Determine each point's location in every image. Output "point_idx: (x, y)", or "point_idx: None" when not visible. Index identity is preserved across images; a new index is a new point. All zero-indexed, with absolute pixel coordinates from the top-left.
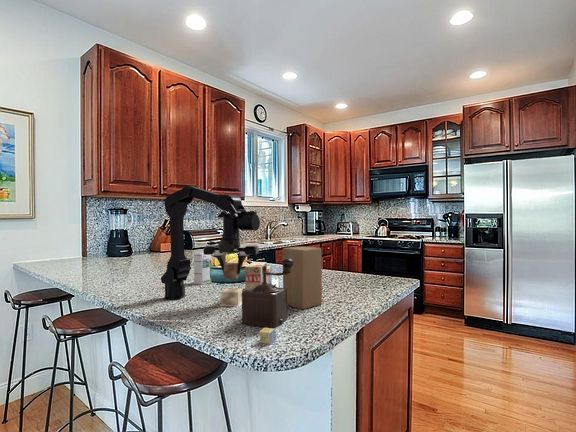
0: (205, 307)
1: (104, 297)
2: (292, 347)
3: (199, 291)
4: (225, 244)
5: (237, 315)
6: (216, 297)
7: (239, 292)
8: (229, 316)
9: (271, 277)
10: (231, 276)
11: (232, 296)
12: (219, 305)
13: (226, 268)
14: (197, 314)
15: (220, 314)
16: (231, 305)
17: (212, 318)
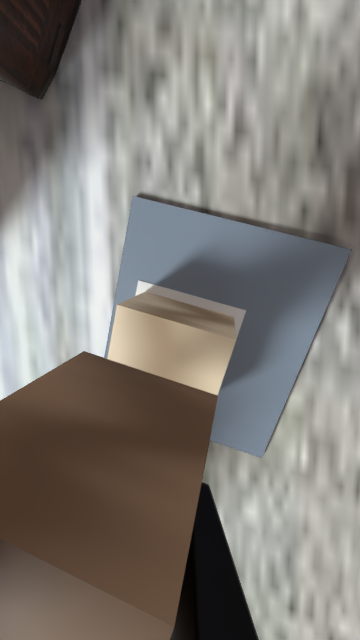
0: (323, 318)
1: None
2: None
3: (338, 622)
4: None
5: (148, 113)
6: (255, 493)
7: (114, 334)
8: (191, 96)
9: None
10: (116, 379)
11: (163, 309)
12: (244, 313)
13: (143, 483)
14: None
15: (241, 149)
16: (180, 299)
17: (292, 58)
